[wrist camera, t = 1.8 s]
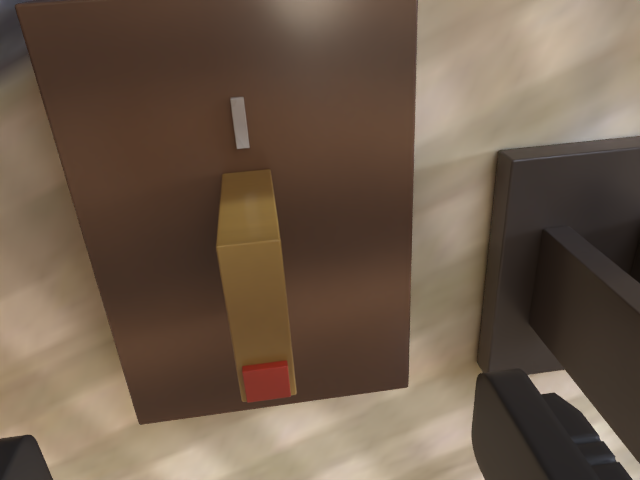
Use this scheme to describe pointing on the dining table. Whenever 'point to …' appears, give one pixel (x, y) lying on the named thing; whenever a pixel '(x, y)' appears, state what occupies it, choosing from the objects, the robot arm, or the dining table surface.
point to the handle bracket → (569, 272)
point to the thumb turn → (255, 286)
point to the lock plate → (231, 157)
